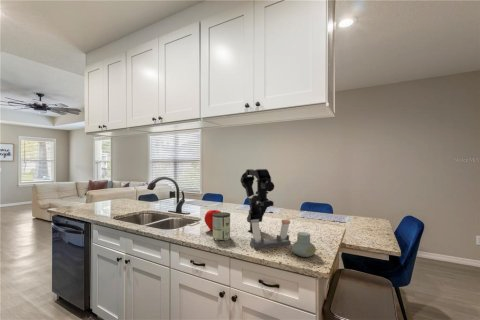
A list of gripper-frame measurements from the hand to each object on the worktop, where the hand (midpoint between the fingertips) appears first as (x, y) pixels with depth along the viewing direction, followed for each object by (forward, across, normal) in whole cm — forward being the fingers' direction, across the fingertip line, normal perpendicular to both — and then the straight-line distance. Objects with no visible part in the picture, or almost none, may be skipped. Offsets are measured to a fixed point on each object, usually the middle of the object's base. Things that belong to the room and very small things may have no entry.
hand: (262, 216), depth 142 cm
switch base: (+12, +16, -3) cm, 20 cm away
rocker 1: (+9, +16, -10) cm, 21 cm away
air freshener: (+12, +34, +6) cm, 36 cm away
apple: (+12, -23, -24) cm, 35 cm away
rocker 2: (+9, +16, +5) cm, 19 cm away
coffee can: (+12, -4, -24) cm, 27 cm away
